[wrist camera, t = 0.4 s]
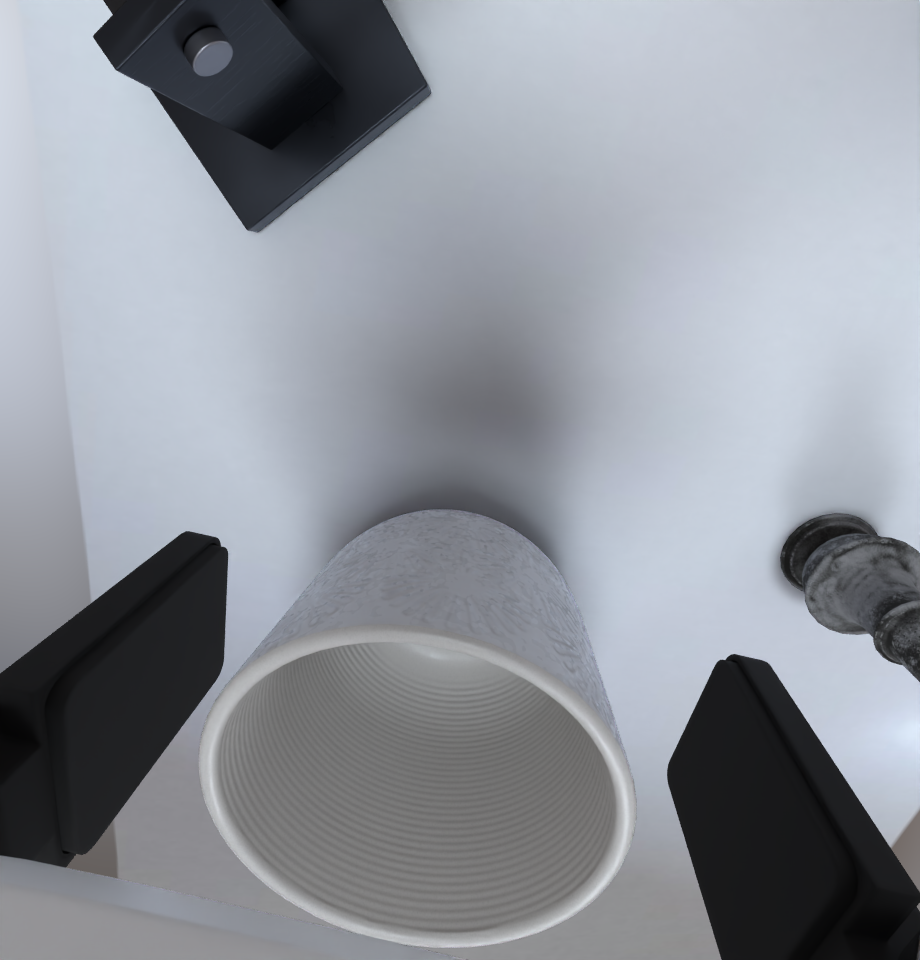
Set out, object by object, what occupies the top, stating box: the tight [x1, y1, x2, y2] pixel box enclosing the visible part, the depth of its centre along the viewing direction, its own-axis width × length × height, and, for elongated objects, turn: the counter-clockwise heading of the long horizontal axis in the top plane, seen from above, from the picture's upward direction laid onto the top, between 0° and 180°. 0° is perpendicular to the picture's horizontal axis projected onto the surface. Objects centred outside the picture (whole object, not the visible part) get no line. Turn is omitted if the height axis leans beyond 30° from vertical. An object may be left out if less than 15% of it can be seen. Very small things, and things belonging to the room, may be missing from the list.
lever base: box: [93, 0, 431, 232], centre depth 20 cm, size 11×9×12 cm
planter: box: [199, 509, 636, 948], centre depth 27 cm, size 17×17×15 cm
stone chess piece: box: [781, 514, 920, 682], centre depth 25 cm, size 6×6×12 cm
